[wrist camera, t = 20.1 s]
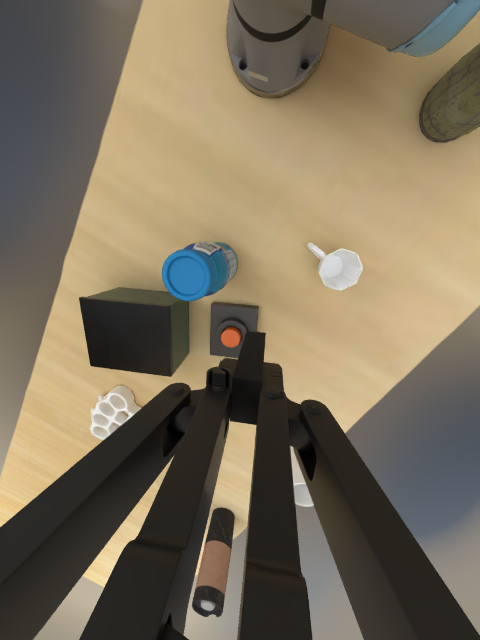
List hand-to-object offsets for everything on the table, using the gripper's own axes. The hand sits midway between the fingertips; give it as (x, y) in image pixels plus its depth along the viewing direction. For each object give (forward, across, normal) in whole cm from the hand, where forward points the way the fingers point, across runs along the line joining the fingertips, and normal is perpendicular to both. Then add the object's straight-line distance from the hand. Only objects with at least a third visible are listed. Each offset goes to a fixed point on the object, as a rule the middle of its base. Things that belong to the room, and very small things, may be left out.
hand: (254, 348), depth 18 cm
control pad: (+32, -6, -12) cm, 35 cm away
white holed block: (+33, -37, -40) cm, 63 cm away
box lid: (+23, -25, -11) cm, 36 cm away
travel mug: (+33, -6, -75) cm, 82 cm away
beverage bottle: (+33, -10, +3) cm, 34 cm away
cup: (+33, +11, +5) cm, 35 cm away
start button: (+29, -6, -12) cm, 32 cm away
